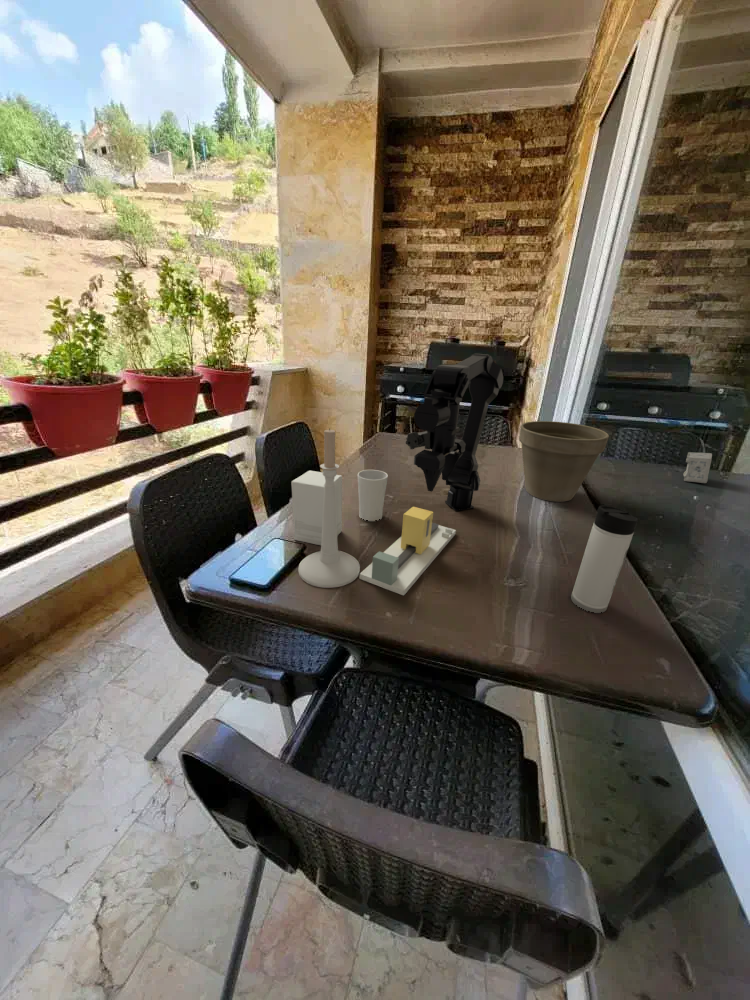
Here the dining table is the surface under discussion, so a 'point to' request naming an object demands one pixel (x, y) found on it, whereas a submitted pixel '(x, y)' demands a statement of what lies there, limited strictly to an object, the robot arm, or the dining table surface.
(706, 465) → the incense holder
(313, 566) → the candlestick
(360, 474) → the cup
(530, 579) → the dining table surface
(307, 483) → the supplement box
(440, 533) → the white slide rail base
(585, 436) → the plant pot
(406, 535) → the yellow sliding block
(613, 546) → the travel mug
